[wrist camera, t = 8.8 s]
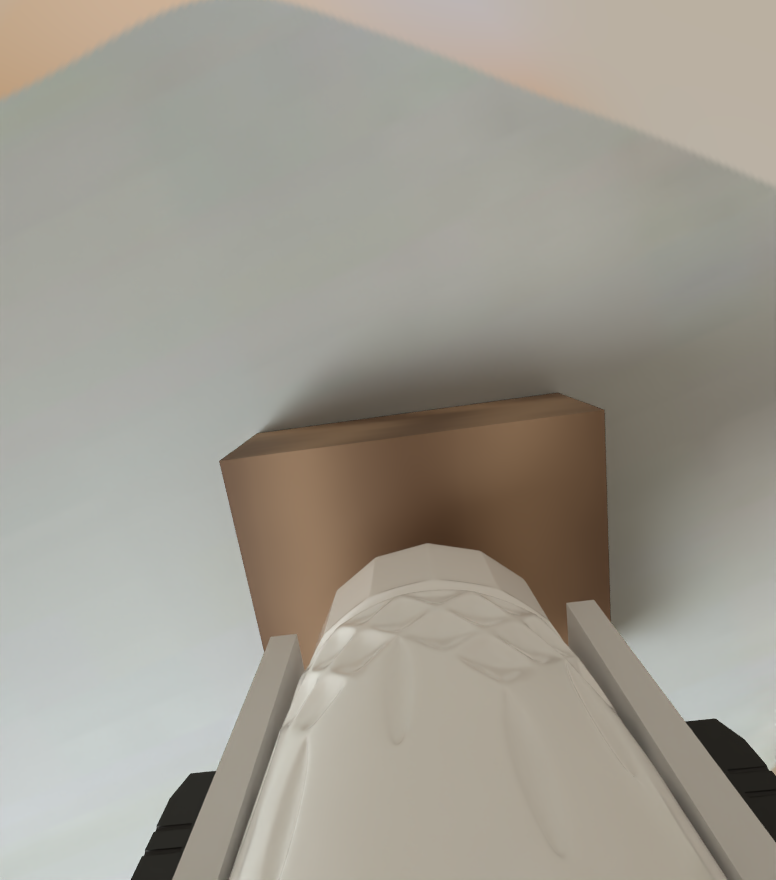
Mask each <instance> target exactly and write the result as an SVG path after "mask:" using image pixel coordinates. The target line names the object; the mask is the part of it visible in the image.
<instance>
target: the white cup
mask: <svg viewBox="0 0 776 880" xmlns="http://www.w3.org/2000/svg"><path fill="white" fill-rule="evenodd" d="M228 880H728V879H727V878H726V876H725V874H724V873H723V871H722V870H721V868H720V867H719V865H718V864H717V862H716V861H715V859H714V858H713V856H712V854H711V853H710V851H709V850H708V848H707V847H706V845H705V844H704V842H703V841H702V839H701V838H700V836H699V834H698V833H697V831H696V830H695V828H694V827H693V825H692V824H691V822H690V821H689V819H688V817H687V816H686V814H685V813H684V811H683V810H682V808H681V807H680V805H679V804H678V802H677V800H676V799H675V797H674V796H673V794H672V792H671V791H670V789H669V788H668V786H667V785H666V783H665V781H664V780H663V778H662V777H661V775H660V774H659V772H658V771H657V769H656V768H655V767H654V765H653V764H652V762H651V761H650V759H649V758H648V757H647V755H646V754H645V752H644V751H643V750H642V748H641V747H640V746H639V744H638V743H637V741H636V740H635V739H634V737H633V736H632V735H631V733H630V732H629V731H628V729H627V728H626V727H625V725H624V724H623V722H622V720H621V719H620V717H619V715H618V713H617V712H616V710H615V709H614V707H613V706H612V704H611V703H610V701H609V700H608V698H607V697H606V695H605V694H604V692H603V691H602V689H601V688H600V687H599V685H598V684H597V682H596V681H595V680H594V678H593V677H592V675H591V674H590V673H589V671H588V670H587V669H586V667H585V665H584V664H583V662H582V660H581V659H580V658H579V657H578V656H577V655H576V654H575V653H574V652H573V651H572V650H571V649H570V648H569V647H568V646H567V645H566V644H565V642H564V641H563V639H562V638H561V636H560V635H559V633H558V632H557V631H556V629H555V628H554V626H553V625H552V624H551V622H550V621H549V619H548V617H547V616H546V614H545V612H544V611H543V609H542V608H541V606H540V604H539V603H538V601H537V599H536V598H535V596H534V594H533V593H532V591H531V589H530V588H529V586H528V584H527V583H526V581H525V580H524V579H523V578H522V577H520V576H519V575H517V574H515V573H514V572H512V571H511V570H509V569H508V568H506V567H505V566H503V565H502V564H500V563H499V562H497V561H495V560H494V559H492V558H491V557H489V556H488V555H486V554H485V553H483V552H482V551H479V550H472V549H465V548H458V547H451V546H444V545H438V544H431V543H425V544H422V545H418V546H414V547H411V548H407V549H404V550H400V551H396V552H393V553H389V554H385V555H382V556H378V557H376V558H374V559H373V560H372V561H371V562H370V563H368V564H367V565H366V566H365V567H364V568H362V569H361V570H360V571H359V572H358V573H357V574H355V575H354V576H353V577H352V578H351V579H349V580H348V581H347V582H346V583H345V584H344V585H342V586H341V587H340V588H339V589H338V590H337V591H336V594H335V596H334V599H333V601H332V604H331V606H330V609H329V611H328V614H327V616H326V618H325V621H324V623H323V626H322V628H321V631H320V633H319V636H318V639H317V642H316V645H315V648H314V652H313V655H312V658H311V661H310V664H309V666H308V667H307V668H306V670H305V671H304V672H303V674H302V675H301V677H300V679H299V682H298V685H297V687H296V690H295V693H294V696H293V699H292V703H291V706H290V709H289V712H288V714H287V716H286V718H285V720H284V723H283V725H282V727H281V729H280V731H279V734H278V738H277V741H276V743H275V746H274V749H273V752H272V755H271V757H270V760H269V763H268V766H267V769H266V772H265V775H264V778H263V781H262V784H261V787H260V789H259V792H258V795H257V798H256V801H255V804H254V807H253V810H252V813H251V816H250V819H249V821H248V824H247V827H246V830H245V833H244V836H243V839H242V842H241V845H240V848H239V851H238V853H237V856H236V859H235V862H234V865H233V868H232V871H231V874H230V876H229V879H228Z"/></svg>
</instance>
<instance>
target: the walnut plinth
mask: <svg viewBox="0 0 776 880" xmlns="http://www.w3.org/2000/svg"><path fill="white" fill-rule="evenodd" d="M219 462H220V466H221V471H222V475H223V479H224V483H225V488H226V492H227V496H228V500H229V505H230V509H231V513H232V517H233V521H234V526H235V530H236V534H237V538H238V543H239V547H240V551H241V555H242V560H243V564H244V568H245V572H246V577H247V581H248V585H249V589H250V594H251V598H252V602H253V606H254V611H255V615H256V619H257V623H258V628H259V632H260V636H261V640H262V644H263V649H264V652H265V650H266V647H267V645H268V642H269V640H270V637H274V636H283V635H291V634H297V637H298V642H299V647H300V651H301V656H302V661H303V665H304V670H306V668H307V667H308V666H309V664H310V661H311V658H312V655H313V652H314V648H315V645H316V642H317V639H318V636H319V633H320V631H321V628H322V626H323V623H324V621H325V618H326V616H327V614H328V611H329V609H330V606H331V604H332V601H333V599H334V596H335V594H336V591H337V590H338V589H339V588H340V587H341V586H342V585H344V584H345V583H346V582H347V581H348V580H349V579H351V578H352V577H353V576H354V575H355V574H357V573H358V572H359V571H360V570H361V569H362V568H364V567H365V566H366V565H367V564H368V563H370V562H371V561H372V560H373V559H374V558H376V557H378V556H382V555H385V554H389V553H393V552H396V551H400V550H404V549H407V548H411V547H414V546H418V545H422V544H425V543H431V544H438V545H444V546H451V547H458V548H465V549H472V550H479V551H482V552H483V553H485V554H486V555H488V556H489V557H491V558H492V559H494V560H495V561H497V562H499V563H500V564H502V565H503V566H505V567H506V568H508V569H509V570H511V571H512V572H514V573H515V574H517V575H519V576H520V577H522V578H523V579H524V580H525V581H526V583H527V584H528V586H529V588H530V589H531V591H532V593H533V594H534V596H535V598H536V599H537V601H538V603H539V604H540V606H541V608H542V609H543V611H544V612H545V614H546V616H547V617H548V619H549V621H550V622H551V624H552V625H553V626H554V628H555V629H556V631H557V632H558V633H559V635H560V636H561V638H562V639H563V641H564V642H565V644H566V645H567V646H568V647H569V645H568V626H567V608H566V603H570V602H579V601H588V600H594V601H595V602H596V603H597V605H598V606H599V607H600V609H601V610H602V611H603V613H604V614H605V615H606V617H607V618H608V619H609V621H610V622H611V617H610V583H609V549H608V515H607V481H606V447H605V413H604V410H603V409H601V408H598V407H595V406H593V405H590V404H587V403H584V402H582V401H579V400H576V399H573V398H571V397H568V396H565V395H563V394H560V393H552V394H545V395H537V396H530V397H523V398H515V399H508V400H501V401H493V402H486V403H478V404H471V405H464V406H456V407H449V408H442V409H434V410H427V411H419V412H412V413H405V414H397V415H390V416H382V417H375V418H368V419H360V420H353V421H346V422H338V423H331V424H323V425H316V426H309V427H301V428H294V429H286V430H279V431H272V432H264V433H257V434H256V435H254V436H253V437H252V438H250V439H249V440H248V441H246V442H245V443H243V444H242V445H241V446H239V447H238V448H237V449H235V450H234V451H232V452H231V453H230V454H228V455H227V456H226V457H224V458H223V459H221V460H220V461H219Z"/></svg>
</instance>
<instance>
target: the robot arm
mask: <svg viewBox="0 0 776 880" xmlns="http://www.w3.org/2000/svg"><path fill="white" fill-rule="evenodd" d="M566 608H567V626H568V645H569V648H570V649H571V650H572V651H573V652H574V653H575V654H576V655H577V656H578V657H579V658H580V659H581V660H582V662H583V664H584V665H585V667H586V669H587V670H588V671H589V673H590V674H591V675H592V677H593V678H594V680H595V681H596V682H597V684H598V685H599V687H600V688H601V689H602V691H603V692H604V694H605V695H606V697H607V698H608V700H609V701H610V703H611V704H612V706H613V707H614V709H615V710H616V712H617V713H618V715H619V717H620V719H621V720H622V722H623V724H624V725H625V727H626V728H627V729H628V731H629V732H630V733H631V735H632V736H633V737H634V739H635V740H636V741H637V743H638V744H639V746H640V747H641V748H642V750H643V751H644V752H645V754H646V755H647V757H648V758H649V759H650V761H651V762H652V764H653V765H654V767H655V768H656V769H657V771H658V772H659V774H660V775H661V777H662V778H663V780H664V781H665V783H666V785H667V786H668V788H669V789H670V791H671V792H672V794H673V796H674V797H675V799H676V800H677V802H678V804H679V805H680V807H681V808H682V810H683V811H684V813H685V814H686V816H687V817H688V819H689V821H690V822H691V824H692V825H693V827H694V828H695V830H696V831H697V833H698V834H699V836H700V838H701V839H702V841H703V842H704V844H705V845H706V847H707V848H708V850H709V851H710V853H711V854H712V856H713V858H714V859H715V861H716V862H717V864H718V865H719V867H720V868H721V870H722V871H723V873H724V874H725V876H726V878H727V879H728V880H776V776H775V774H774V773H773V772H772V771H769V770H768V768H767V765H766V764H765V763H764V762H763V760H762V759H761V758H760V757H759V756H758V755H757V754H756V752H755V751H754V750H753V749H752V748H751V747H750V745H749V744H748V743H747V742H746V741H745V740H744V739H743V738H742V737H740V736H739V735H737V734H736V733H735V732H733V731H732V730H731V729H729V728H728V727H726V726H725V725H724V724H722V723H721V722H719V721H718V720H717V719H707V720H697V721H687V722H685V721H684V719H683V718H682V717H681V715H680V714H679V713H678V711H677V710H676V709H675V707H674V706H673V705H672V703H671V702H670V701H669V699H668V698H667V697H666V695H665V694H664V693H663V691H662V690H661V689H660V687H659V686H658V685H657V683H656V682H655V681H654V679H653V678H652V677H651V675H650V674H649V673H648V671H647V670H646V669H645V667H644V666H643V665H642V663H641V662H640V661H639V659H638V658H637V657H636V655H635V654H634V653H633V651H632V650H631V649H630V647H629V646H628V645H627V643H626V642H625V641H624V639H623V638H622V637H621V635H620V634H619V633H618V631H617V630H616V629H615V627H614V626H613V625H612V623H611V622H610V621H609V619H608V618H607V617H606V615H605V614H604V613H603V611H602V610H601V609H600V607H599V606H598V605H597V603H596V602H595V601H594V600H588V601H579V602H570V603H566ZM304 671H305V670H304V665H303V661H302V656H301V651H300V647H299V642H298V637H297V634H291V635H283V636H274V637H270V640H269V642H268V645H267V647H266V650H265V652H264V655H263V657H262V659H261V662H260V664H259V667H258V669H257V672H256V674H255V677H254V679H253V682H252V684H251V687H250V689H249V692H248V694H247V696H246V699H245V701H244V704H243V706H242V709H241V711H240V714H239V716H238V719H237V721H236V724H235V726H234V728H233V731H232V733H231V736H230V738H229V741H228V743H227V746H226V748H225V751H224V753H223V756H222V758H221V761H220V763H219V765H218V768H217V770H216V771H211V772H201V773H191V774H190V775H189V776H188V777H187V778H186V780H185V781H184V782H183V783H182V784H181V786H180V787H179V788H178V789H177V790H176V792H175V793H174V794H173V795H172V796H171V798H170V799H169V801H168V804H167V806H166V808H165V810H164V812H163V814H162V816H161V818H160V820H159V822H158V824H157V829H156V832H154V833H153V835H152V837H151V839H150V841H149V843H148V845H147V847H146V849H145V855H144V856H142V858H141V860H140V862H139V864H138V866H137V868H136V870H135V872H134V874H133V876H132V878H131V880H228V879H229V876H230V874H231V871H232V868H233V865H234V862H235V859H236V856H237V853H238V851H239V848H240V845H241V842H242V839H243V836H244V833H245V830H246V827H247V824H248V821H249V819H250V816H251V813H252V810H253V807H254V804H255V801H256V798H257V795H258V792H259V789H260V787H261V784H262V781H263V778H264V775H265V772H266V769H267V766H268V763H269V760H270V757H271V755H272V752H273V749H274V746H275V743H276V741H277V738H278V734H279V731H280V729H281V727H282V725H283V723H284V720H285V718H286V716H287V714H288V712H289V709H290V706H291V703H292V699H293V696H294V693H295V690H296V687H297V685H298V682H299V679H300V677H301V675H302V674H303V672H304Z"/></svg>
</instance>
